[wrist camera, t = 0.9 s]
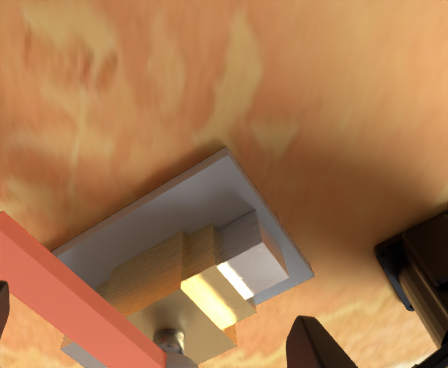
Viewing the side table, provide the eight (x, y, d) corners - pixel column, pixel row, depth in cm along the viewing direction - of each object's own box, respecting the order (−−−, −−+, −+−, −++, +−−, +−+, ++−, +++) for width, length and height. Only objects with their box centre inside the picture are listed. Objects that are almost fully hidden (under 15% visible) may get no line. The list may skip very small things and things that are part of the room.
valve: (286, 248, 25) (313, 338, 19) (115, 336, 28) (96, 437, 22) (243, 189, 22) (260, 272, 17) (62, 292, 25) (25, 391, 20)
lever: (211, 377, 20) (212, 397, 19) (160, 400, 20) (158, 421, 19) (17, 200, 14) (5, 217, 13) (-45, 241, 15) (-60, 259, 14)
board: (310, 265, 26) (314, 276, 25) (134, 353, 29) (132, 365, 29) (226, 146, 22) (227, 155, 21) (28, 265, 25) (22, 277, 24)
